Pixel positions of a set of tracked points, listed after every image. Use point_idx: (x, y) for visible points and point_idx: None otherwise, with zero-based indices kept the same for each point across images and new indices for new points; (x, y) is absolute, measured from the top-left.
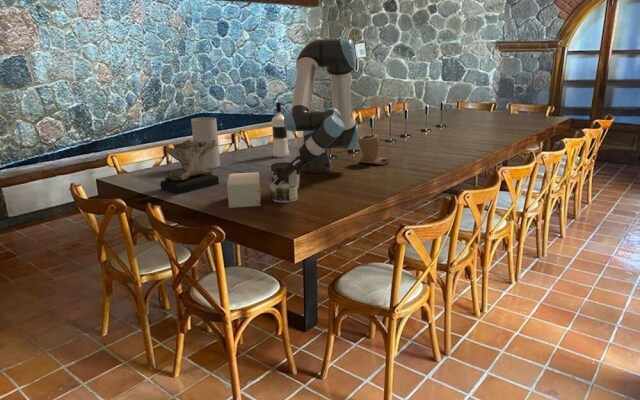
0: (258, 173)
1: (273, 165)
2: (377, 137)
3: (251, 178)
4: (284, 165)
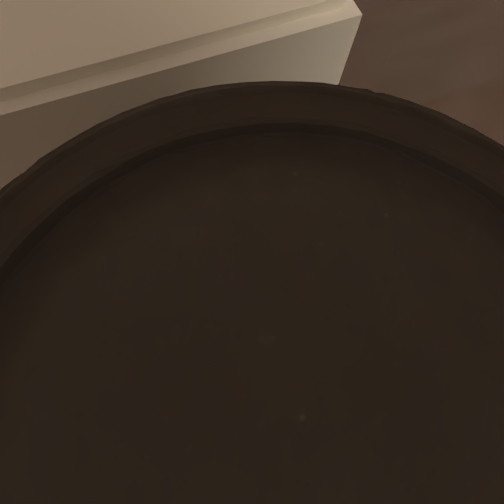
0: (334, 18)
1: (257, 141)
2: None
3: (22, 19)
4: (309, 471)
